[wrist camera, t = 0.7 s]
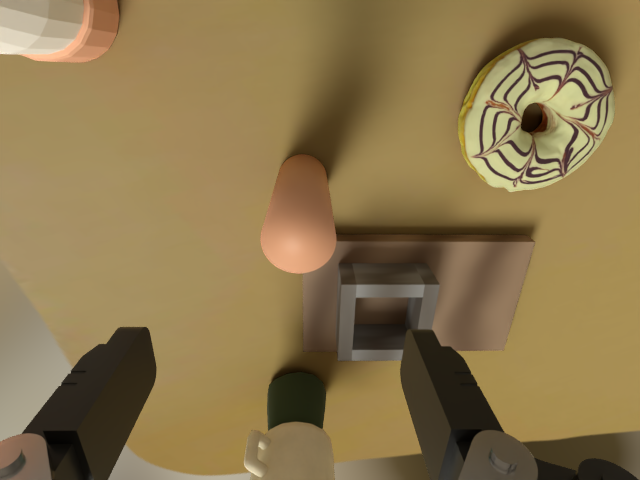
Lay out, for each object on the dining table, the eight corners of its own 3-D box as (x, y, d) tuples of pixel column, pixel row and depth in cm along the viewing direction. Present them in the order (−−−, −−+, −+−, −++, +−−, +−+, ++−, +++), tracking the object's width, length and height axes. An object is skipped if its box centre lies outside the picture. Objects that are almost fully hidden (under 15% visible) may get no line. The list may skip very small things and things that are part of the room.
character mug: (238, 377, 39) (207, 509, 28) (286, 342, 37) (276, 467, 26) (305, 428, 43) (304, 564, 31) (353, 399, 41) (370, 531, 29)
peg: (327, 154, 29) (337, 205, 19) (326, 201, 31) (335, 273, 20) (277, 154, 29) (258, 204, 18) (279, 201, 31) (262, 273, 20)
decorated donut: (544, 195, 32) (573, 211, 28) (430, 163, 30) (445, 176, 27) (616, 66, 27) (660, 66, 24) (487, 22, 26) (514, 15, 23)
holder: (526, 234, 33) (560, 261, 28) (496, 340, 38) (521, 377, 33) (302, 234, 32) (301, 261, 28) (303, 341, 37) (302, 379, 33)
